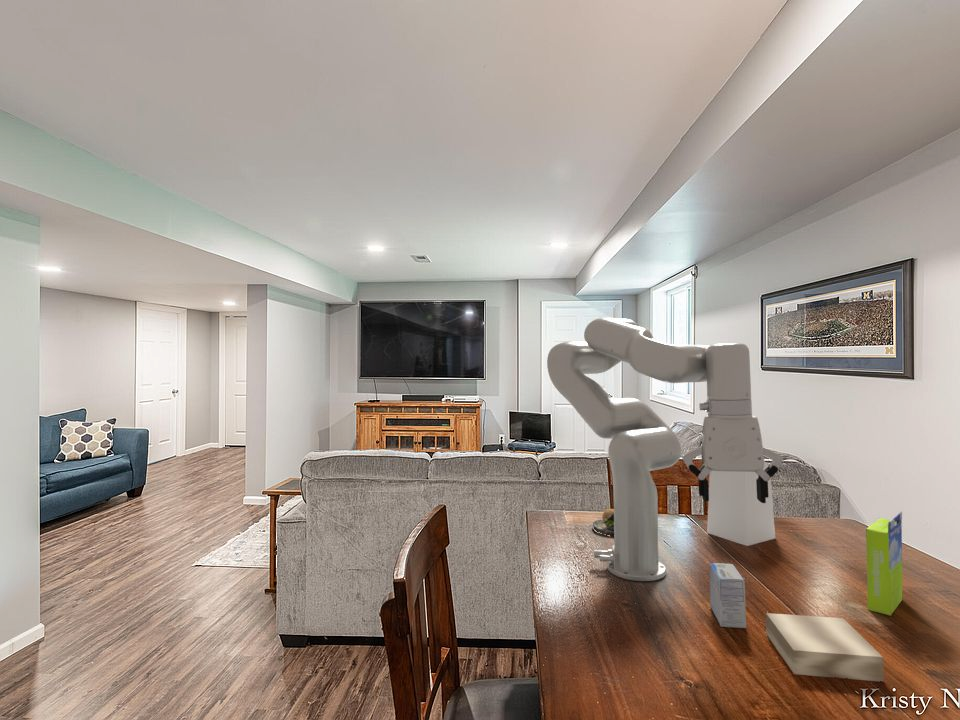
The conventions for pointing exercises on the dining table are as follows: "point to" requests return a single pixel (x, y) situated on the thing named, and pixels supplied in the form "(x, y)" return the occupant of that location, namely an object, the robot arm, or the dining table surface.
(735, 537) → the milk
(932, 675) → the dining table surface
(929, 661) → the dining table surface
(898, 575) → the box
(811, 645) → the maple block
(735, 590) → the medicine box
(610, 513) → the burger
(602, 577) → the dining table surface
